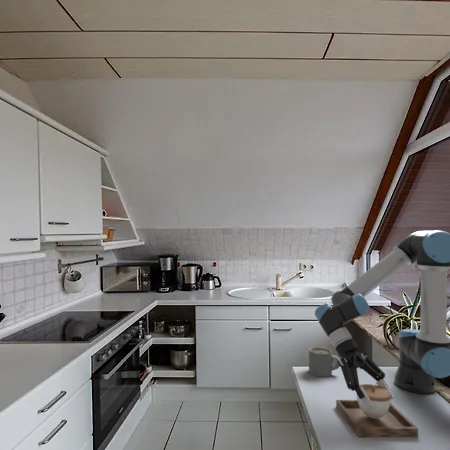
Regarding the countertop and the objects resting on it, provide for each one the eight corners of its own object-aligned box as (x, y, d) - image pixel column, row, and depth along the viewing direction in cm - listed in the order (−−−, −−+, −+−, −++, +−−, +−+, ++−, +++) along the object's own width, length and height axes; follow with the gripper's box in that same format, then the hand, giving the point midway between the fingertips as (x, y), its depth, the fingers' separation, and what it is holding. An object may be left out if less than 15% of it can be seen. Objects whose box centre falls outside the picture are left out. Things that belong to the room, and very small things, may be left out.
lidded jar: (394, 424, 114) (394, 394, 114) (358, 419, 116) (359, 390, 116) (386, 408, 124) (386, 381, 124) (353, 404, 126) (354, 377, 127)
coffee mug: (306, 374, 159) (306, 351, 159) (312, 366, 167) (312, 345, 167) (337, 380, 152) (337, 357, 152) (341, 372, 161) (341, 350, 161)
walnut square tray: (387, 406, 130) (387, 399, 130) (417, 436, 111) (418, 428, 111) (336, 406, 129) (336, 399, 129) (358, 437, 110) (358, 428, 110)
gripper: (357, 343, 139) (394, 400, 126) (315, 353, 127) (351, 417, 114) (369, 333, 135) (408, 390, 122) (327, 342, 123) (366, 407, 109)
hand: (381, 403), depth 118 cm, fingers closed on lidded jar, 11 cm apart
